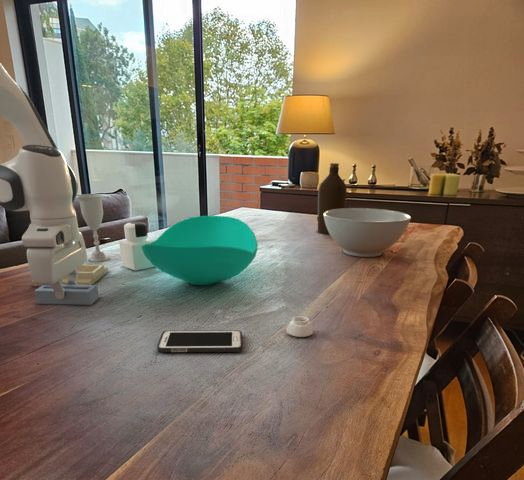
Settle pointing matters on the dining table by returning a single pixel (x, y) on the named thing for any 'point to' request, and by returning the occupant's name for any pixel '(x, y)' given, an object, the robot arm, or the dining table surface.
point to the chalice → (93, 220)
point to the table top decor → (203, 249)
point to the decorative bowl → (365, 229)
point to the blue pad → (68, 295)
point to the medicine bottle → (135, 246)
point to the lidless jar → (299, 327)
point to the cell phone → (200, 341)
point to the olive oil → (330, 196)
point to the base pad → (86, 275)
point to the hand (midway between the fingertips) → (67, 293)
